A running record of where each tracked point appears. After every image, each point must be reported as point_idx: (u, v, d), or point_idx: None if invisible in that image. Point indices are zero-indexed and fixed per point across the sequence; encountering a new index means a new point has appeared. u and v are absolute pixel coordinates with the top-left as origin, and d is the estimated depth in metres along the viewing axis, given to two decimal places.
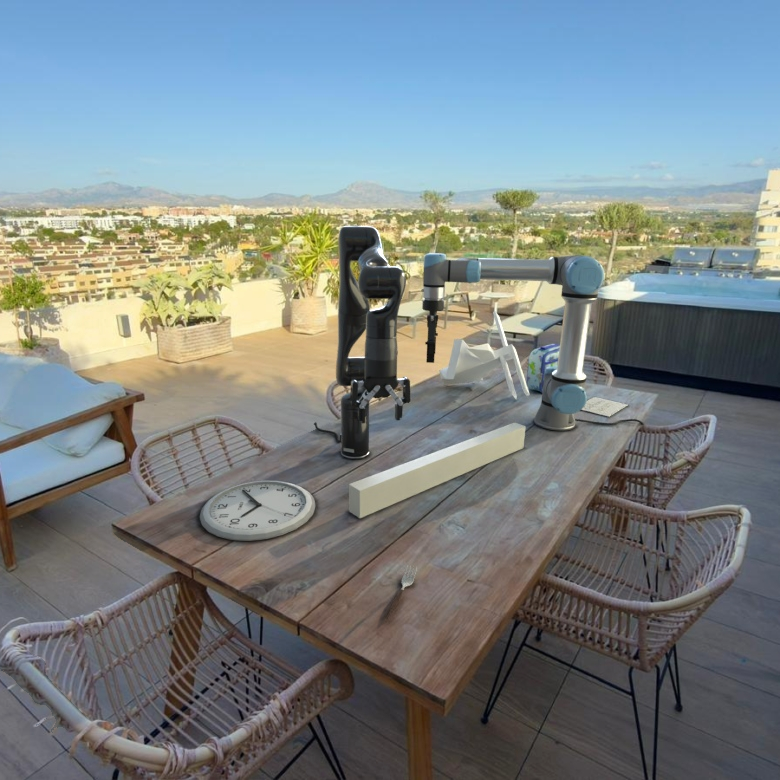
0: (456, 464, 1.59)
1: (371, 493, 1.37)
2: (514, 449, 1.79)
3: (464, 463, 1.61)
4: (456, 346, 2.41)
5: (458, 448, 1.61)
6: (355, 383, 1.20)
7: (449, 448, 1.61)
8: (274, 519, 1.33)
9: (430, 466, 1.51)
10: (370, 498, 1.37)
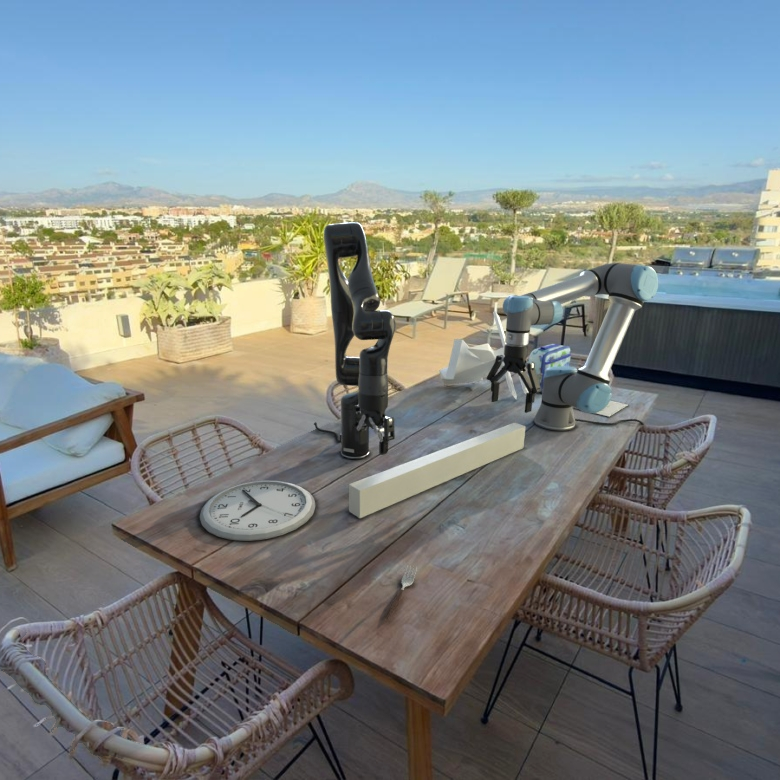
0: (456, 464, 1.59)
1: (371, 493, 1.37)
2: (514, 449, 1.79)
3: (464, 463, 1.61)
4: (456, 346, 2.41)
5: (458, 448, 1.61)
6: None
7: (449, 448, 1.61)
8: (274, 519, 1.33)
9: (430, 466, 1.51)
10: (370, 498, 1.37)
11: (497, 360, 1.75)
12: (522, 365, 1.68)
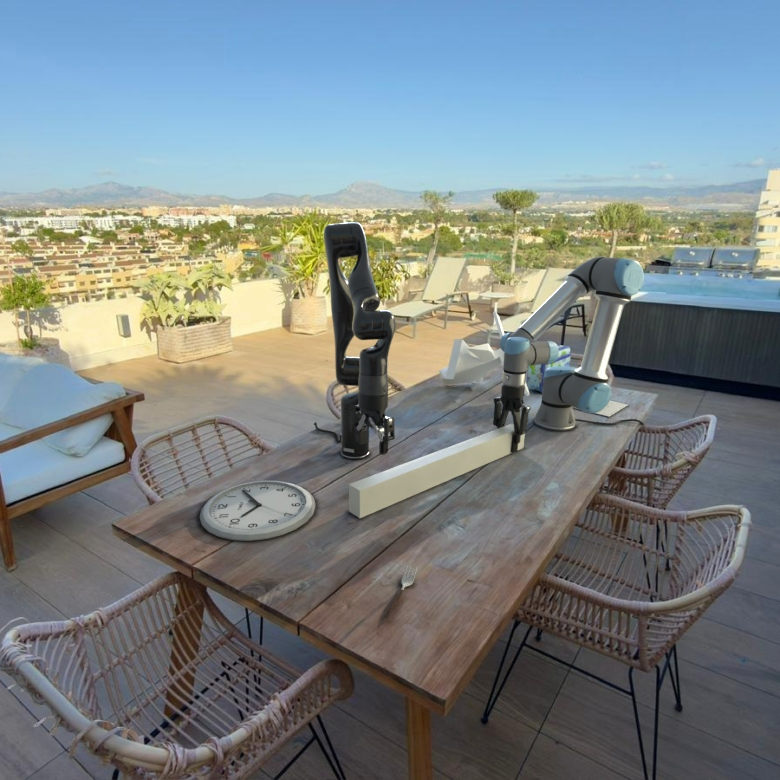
0: (456, 464, 1.59)
1: (371, 493, 1.37)
2: None
3: (464, 463, 1.61)
4: (456, 346, 2.41)
5: (458, 448, 1.61)
6: None
7: (449, 448, 1.61)
8: (274, 519, 1.33)
9: (430, 466, 1.51)
10: (370, 498, 1.37)
11: (496, 402, 1.79)
12: (519, 405, 1.72)
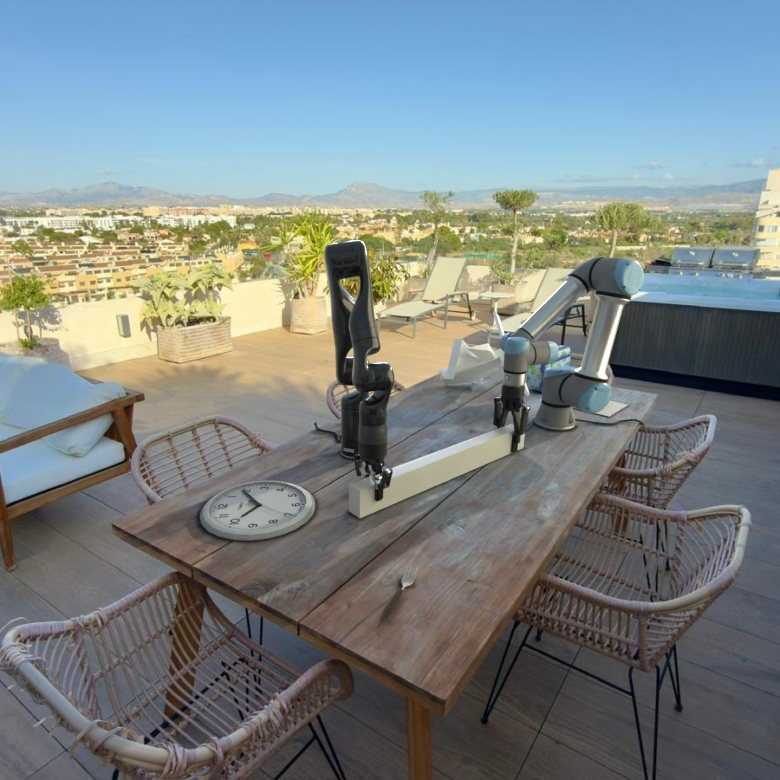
0: (456, 464, 1.59)
1: (371, 493, 1.37)
2: None
3: (464, 463, 1.61)
4: (456, 346, 2.41)
5: (458, 448, 1.61)
6: None
7: (449, 448, 1.61)
8: (274, 519, 1.33)
9: (430, 466, 1.51)
10: (370, 498, 1.37)
11: (496, 402, 1.79)
12: (519, 405, 1.72)
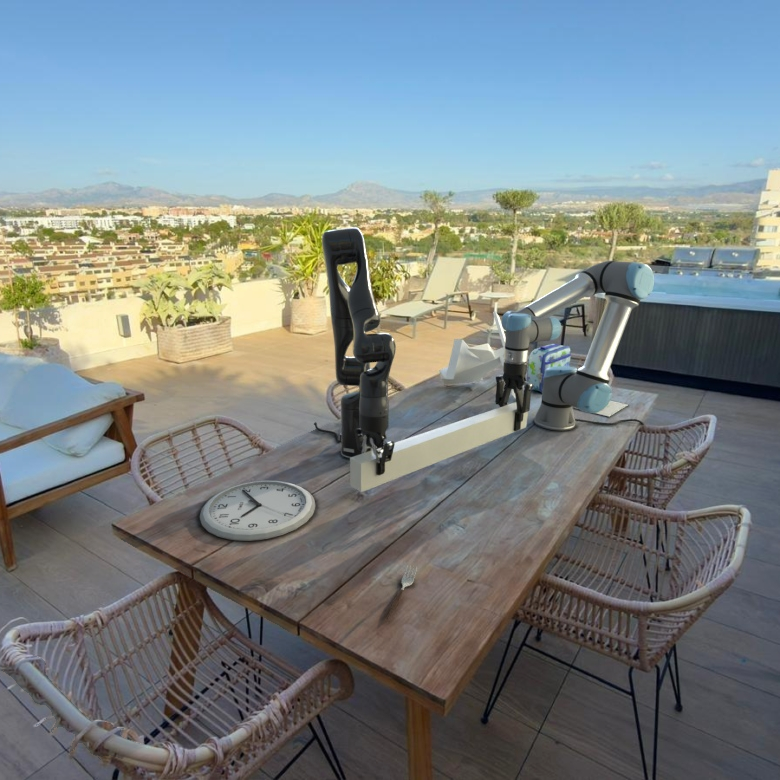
0: (458, 440, 1.57)
1: (373, 467, 1.35)
2: None
3: (466, 440, 1.59)
4: (456, 346, 2.41)
5: (460, 425, 1.59)
6: None
7: (451, 425, 1.59)
8: (274, 519, 1.33)
9: (432, 442, 1.49)
10: (371, 472, 1.35)
11: (498, 381, 1.76)
12: (521, 382, 1.69)
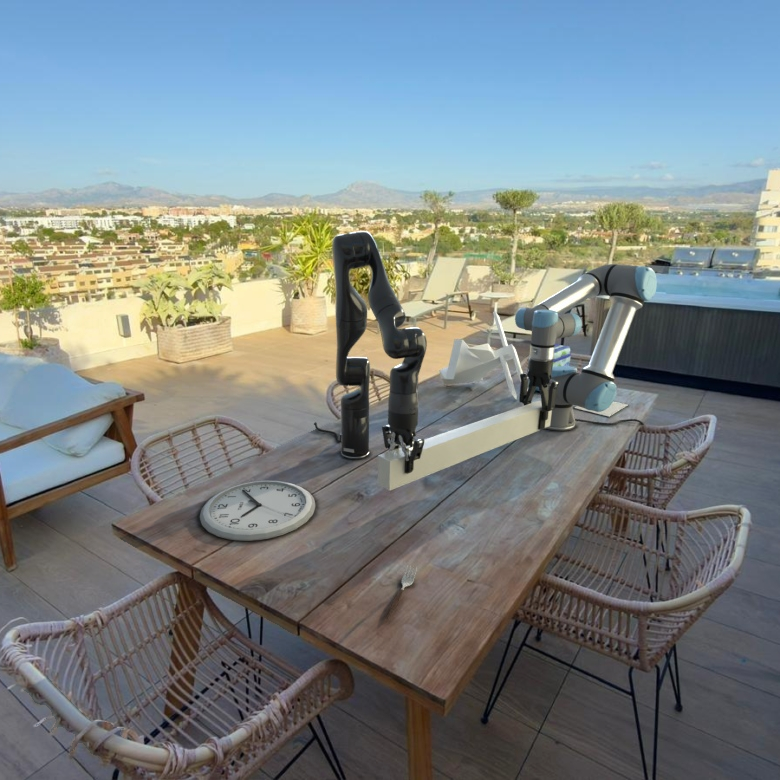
0: (485, 439, 1.54)
1: (401, 465, 1.32)
2: None
3: (492, 438, 1.56)
4: (456, 346, 2.41)
5: (486, 423, 1.56)
6: None
7: (477, 423, 1.56)
8: (274, 519, 1.33)
9: (459, 440, 1.46)
10: (399, 470, 1.32)
11: (522, 378, 1.74)
12: (547, 380, 1.66)
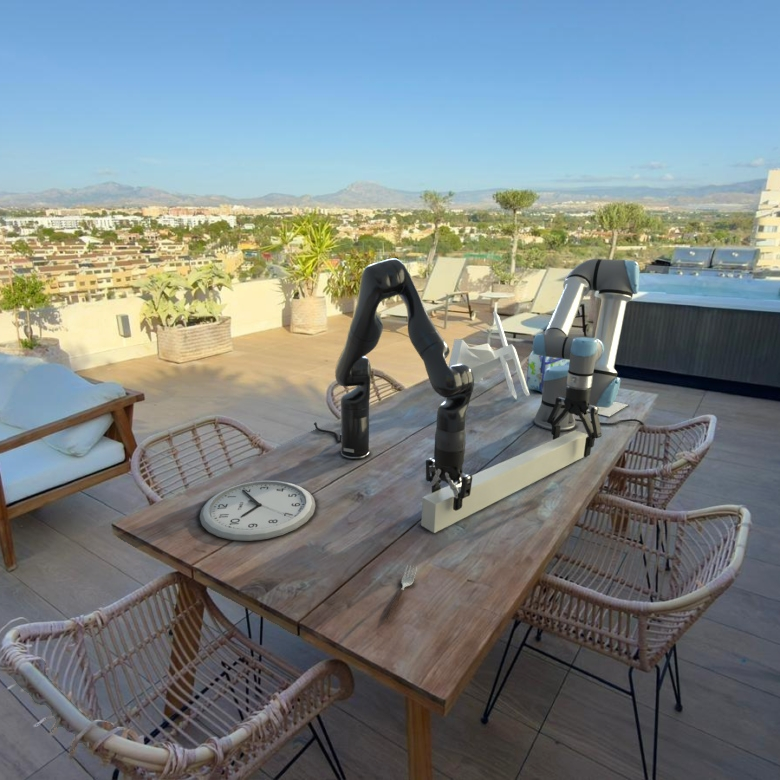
0: (524, 474, 1.53)
1: (446, 507, 1.31)
2: (576, 458, 1.73)
3: (531, 473, 1.55)
4: (456, 346, 2.41)
5: (525, 458, 1.55)
6: None
7: (516, 458, 1.55)
8: (274, 519, 1.33)
9: (500, 477, 1.45)
10: (444, 512, 1.31)
11: (557, 402, 1.72)
12: (585, 408, 1.65)
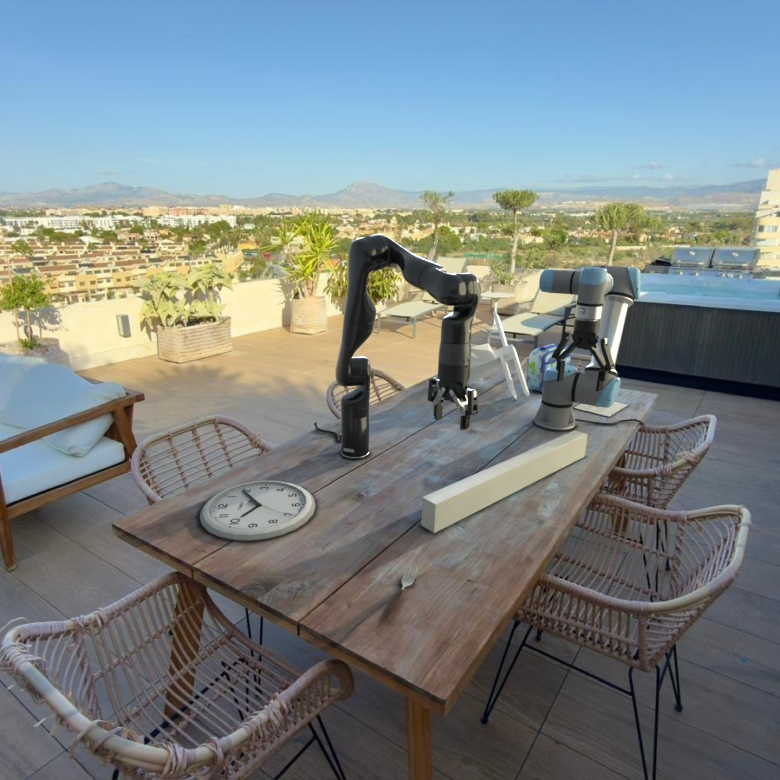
0: (524, 474, 1.53)
1: (446, 507, 1.31)
2: (576, 458, 1.73)
3: (531, 473, 1.55)
4: None
5: (525, 458, 1.55)
6: None
7: (516, 458, 1.55)
8: (274, 519, 1.33)
9: (500, 477, 1.45)
10: (444, 512, 1.31)
11: (565, 336, 1.66)
12: (594, 341, 1.59)
